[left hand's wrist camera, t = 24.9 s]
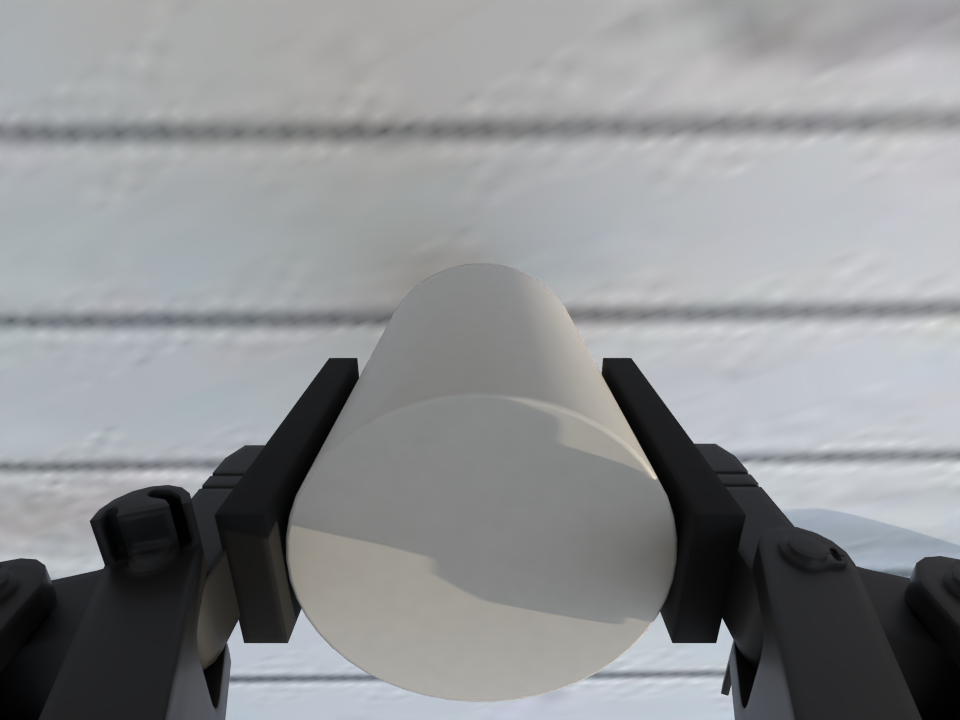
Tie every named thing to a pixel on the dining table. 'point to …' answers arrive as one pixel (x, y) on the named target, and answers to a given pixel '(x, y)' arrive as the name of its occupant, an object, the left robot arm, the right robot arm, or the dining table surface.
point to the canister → (481, 502)
